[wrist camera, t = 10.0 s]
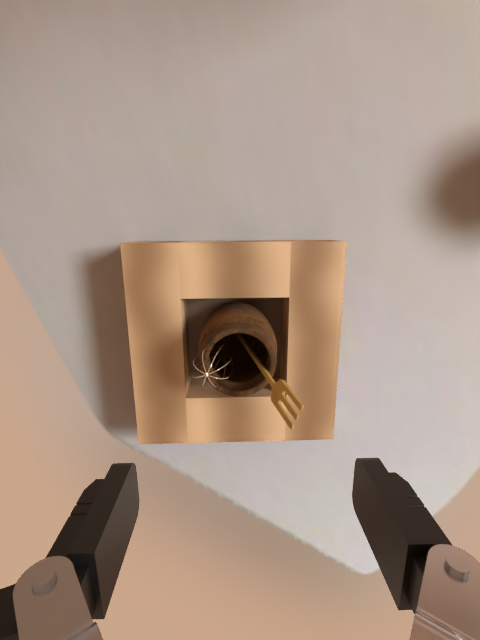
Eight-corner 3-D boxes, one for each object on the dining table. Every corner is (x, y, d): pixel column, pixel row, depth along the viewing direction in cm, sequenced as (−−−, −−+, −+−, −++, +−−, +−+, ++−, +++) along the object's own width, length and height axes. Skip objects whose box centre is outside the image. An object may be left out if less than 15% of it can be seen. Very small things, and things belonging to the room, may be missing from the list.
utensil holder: (216, 288, 28) (208, 328, 17) (285, 316, 29) (322, 371, 18) (192, 351, 30) (168, 427, 18) (258, 375, 31) (276, 463, 19)
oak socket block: (330, 240, 28) (346, 241, 24) (320, 414, 32) (333, 439, 28) (135, 241, 28) (120, 243, 24) (149, 418, 32) (138, 444, 28)
